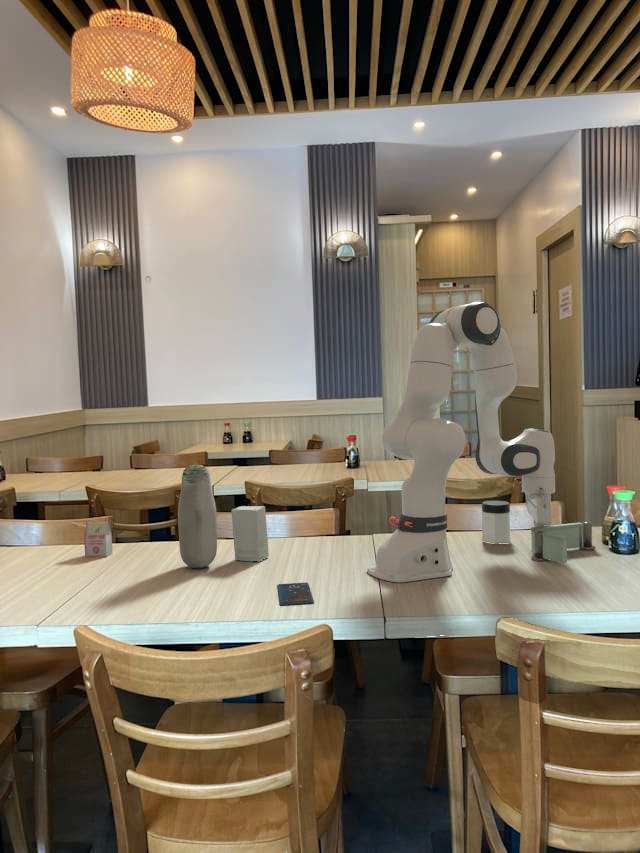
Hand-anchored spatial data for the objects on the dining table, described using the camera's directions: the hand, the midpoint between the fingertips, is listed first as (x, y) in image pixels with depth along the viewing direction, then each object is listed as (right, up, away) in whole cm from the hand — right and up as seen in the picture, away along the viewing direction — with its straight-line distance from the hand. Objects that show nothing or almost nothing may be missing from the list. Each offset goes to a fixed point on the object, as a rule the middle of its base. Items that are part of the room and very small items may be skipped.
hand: (538, 534), depth 174 cm
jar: (-8, -5, +12) cm, 16 cm away
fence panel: (0, -5, -13) cm, 14 cm away
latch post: (-3, -5, -9) cm, 10 cm away
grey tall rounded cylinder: (-95, -8, -7) cm, 95 cm away
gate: (+5, -4, -1) cm, 6 cm away
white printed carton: (-128, -8, +9) cm, 129 cm away
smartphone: (-68, -9, -32) cm, 76 cm away
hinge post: (+14, -4, +2) cm, 15 cm away
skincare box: (-81, -7, 0) cm, 82 cm away
